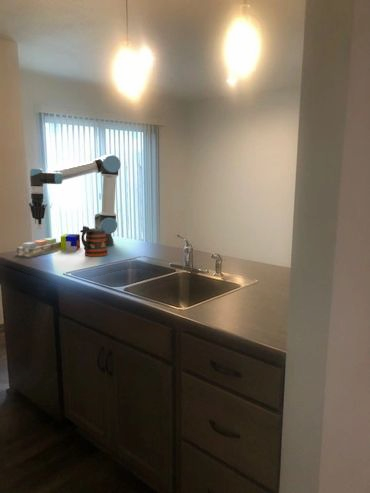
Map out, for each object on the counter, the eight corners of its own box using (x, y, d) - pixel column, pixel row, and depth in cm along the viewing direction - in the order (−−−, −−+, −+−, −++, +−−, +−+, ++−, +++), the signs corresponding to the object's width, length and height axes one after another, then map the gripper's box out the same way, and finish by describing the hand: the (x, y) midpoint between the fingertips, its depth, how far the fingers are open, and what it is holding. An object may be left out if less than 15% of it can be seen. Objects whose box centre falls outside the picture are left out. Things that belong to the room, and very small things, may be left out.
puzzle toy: (75, 251, 258) (75, 236, 256) (61, 250, 258) (60, 236, 256) (80, 248, 268) (79, 234, 266) (66, 248, 268) (65, 234, 266)
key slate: (37, 248, 246) (36, 242, 245) (30, 250, 240) (29, 244, 240) (29, 248, 248) (29, 241, 247) (22, 249, 243) (22, 243, 242)
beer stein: (92, 259, 235) (92, 227, 231) (75, 256, 242) (73, 225, 238) (112, 254, 251) (111, 224, 248) (95, 251, 258) (94, 222, 254)
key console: (61, 249, 263) (61, 242, 263) (31, 257, 238) (31, 249, 237) (48, 247, 268) (47, 240, 267) (17, 255, 243) (16, 247, 242)
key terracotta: (46, 246, 254) (46, 240, 253) (40, 248, 248) (40, 242, 248) (39, 245, 256) (39, 239, 255) (33, 247, 251) (32, 241, 250)
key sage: (56, 244, 262) (56, 238, 261) (50, 245, 257) (49, 239, 256) (49, 243, 264) (49, 237, 264) (43, 244, 259) (42, 239, 258)
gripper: (25, 192, 244) (26, 229, 249) (40, 193, 240) (42, 230, 244) (33, 192, 251) (35, 227, 256) (49, 193, 246) (50, 229, 251)
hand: (38, 229), depth 250 cm, fingers closed
